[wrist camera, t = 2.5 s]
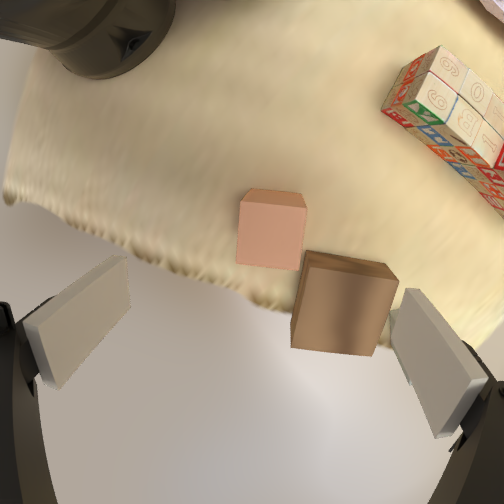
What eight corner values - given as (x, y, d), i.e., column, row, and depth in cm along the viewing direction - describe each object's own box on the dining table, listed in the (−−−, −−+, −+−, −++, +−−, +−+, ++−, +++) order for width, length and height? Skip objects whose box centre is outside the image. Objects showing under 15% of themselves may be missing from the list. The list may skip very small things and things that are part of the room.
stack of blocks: (377, 111, 27) (431, 92, 15) (402, 66, 25) (458, 31, 13) (504, 220, 28) (569, 252, 17) (523, 180, 26) (589, 199, 14)
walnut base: (290, 322, 35) (290, 347, 30) (306, 249, 32) (309, 266, 27) (362, 331, 35) (371, 356, 30) (384, 262, 32) (399, 281, 27)
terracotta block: (247, 236, 32) (235, 263, 25) (251, 188, 30) (240, 201, 23) (295, 241, 32) (298, 270, 24) (301, 193, 30) (307, 208, 23)
